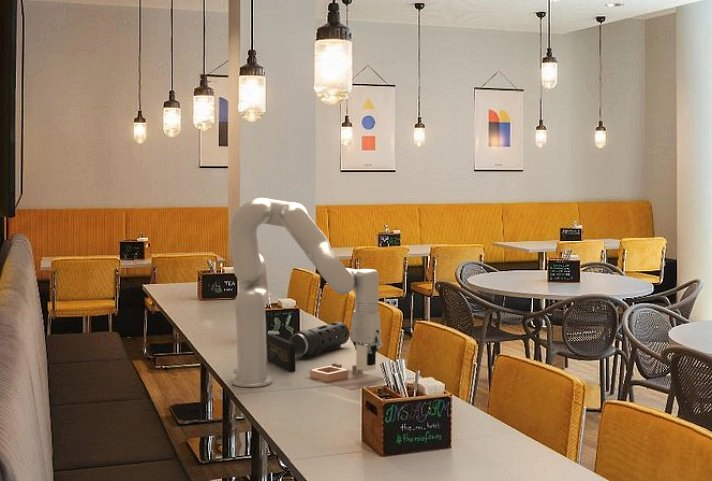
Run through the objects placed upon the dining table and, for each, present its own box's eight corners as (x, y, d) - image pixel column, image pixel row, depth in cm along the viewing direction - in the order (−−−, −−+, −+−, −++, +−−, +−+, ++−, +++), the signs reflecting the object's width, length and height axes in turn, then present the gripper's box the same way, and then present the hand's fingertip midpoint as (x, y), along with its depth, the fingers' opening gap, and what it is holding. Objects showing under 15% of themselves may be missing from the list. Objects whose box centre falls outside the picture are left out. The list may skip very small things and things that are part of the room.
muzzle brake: (350, 348, 345) (350, 322, 344) (308, 362, 321) (307, 333, 320) (329, 345, 350) (329, 319, 349) (286, 359, 326) (286, 331, 325)
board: (304, 380, 292) (304, 368, 292) (344, 371, 304) (344, 360, 304) (352, 393, 275) (351, 380, 275) (392, 383, 288) (392, 370, 287)
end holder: (310, 377, 292) (310, 369, 292) (330, 372, 298) (330, 365, 298) (327, 381, 286) (327, 374, 286) (348, 377, 292) (348, 369, 292)
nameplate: (267, 361, 323) (266, 334, 322) (271, 360, 324) (271, 333, 323) (290, 372, 304) (289, 343, 303) (295, 372, 305) (294, 343, 304)
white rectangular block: (356, 368, 289) (356, 344, 288) (366, 366, 292) (366, 342, 291) (365, 371, 285) (365, 346, 285) (375, 369, 288) (375, 344, 288)
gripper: (340, 305, 290) (339, 360, 292) (376, 312, 278) (375, 369, 280) (357, 303, 296) (356, 357, 297) (393, 309, 283) (392, 366, 285)
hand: (365, 363), depth 288 cm, fingers closed on white rectangular block, 4 cm apart
